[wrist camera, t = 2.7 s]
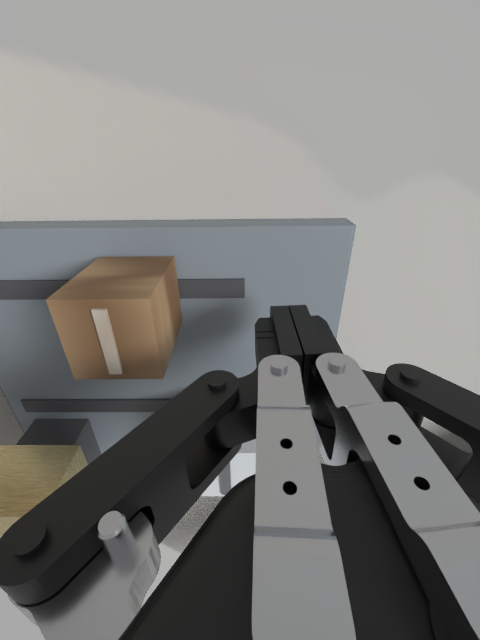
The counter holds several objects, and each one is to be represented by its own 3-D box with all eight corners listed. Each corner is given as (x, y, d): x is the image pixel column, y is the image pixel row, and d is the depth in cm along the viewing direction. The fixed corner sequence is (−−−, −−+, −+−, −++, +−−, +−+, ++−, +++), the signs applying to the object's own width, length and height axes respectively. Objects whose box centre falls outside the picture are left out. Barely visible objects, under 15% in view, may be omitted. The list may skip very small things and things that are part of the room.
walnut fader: (174, 256, 14) (147, 300, 10) (182, 321, 16) (162, 381, 12) (99, 256, 14) (43, 301, 10) (115, 321, 16) (73, 381, 12)
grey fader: (257, 386, 18) (262, 455, 14) (256, 427, 20) (260, 498, 16) (198, 386, 18) (186, 455, 14) (203, 427, 20) (192, 498, 16)
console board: (346, 218, 15) (384, 246, 11) (308, 454, 24) (322, 518, 20) (-57, 222, 15) (-166, 251, 11) (55, 455, 24) (18, 517, 20)
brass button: (79, 445, 17) (41, 516, 14) (103, 501, 20) (75, 572, 17) (-18, 445, 17) (-80, 516, 14) (19, 501, 20) (-26, 571, 17)
